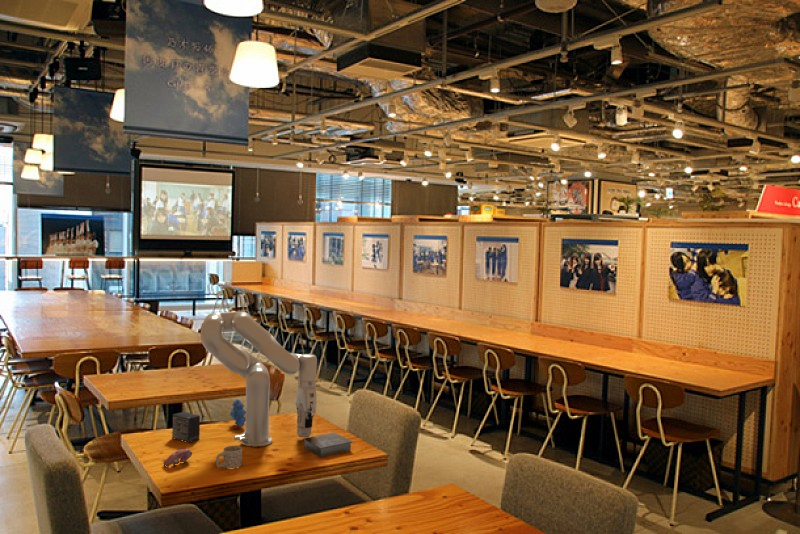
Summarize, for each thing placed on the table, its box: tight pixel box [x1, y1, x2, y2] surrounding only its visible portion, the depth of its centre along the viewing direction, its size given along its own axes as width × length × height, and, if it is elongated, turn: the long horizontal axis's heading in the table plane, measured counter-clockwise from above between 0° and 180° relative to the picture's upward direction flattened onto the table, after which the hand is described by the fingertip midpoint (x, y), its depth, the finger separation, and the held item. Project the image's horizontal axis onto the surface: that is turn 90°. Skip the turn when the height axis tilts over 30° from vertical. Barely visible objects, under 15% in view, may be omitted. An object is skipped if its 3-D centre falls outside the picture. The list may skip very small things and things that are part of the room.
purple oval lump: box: [162, 448, 193, 467], centre depth 239 cm, size 10×5×7 cm, turn 148°
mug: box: [215, 445, 243, 469], centre depth 238 cm, size 10×7×7 cm
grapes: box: [229, 398, 246, 428], centre depth 289 cm, size 12×7×12 cm, turn 37°
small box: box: [171, 411, 201, 443], centre depth 269 cm, size 11×6×10 cm, turn 58°
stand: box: [302, 432, 353, 458], centre depth 260 cm, size 15×14×4 cm
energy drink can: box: [296, 403, 313, 439], centre depth 272 cm, size 6×6×15 cm
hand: (304, 425), depth 272 cm, fingers closed on energy drink can, 6 cm apart
